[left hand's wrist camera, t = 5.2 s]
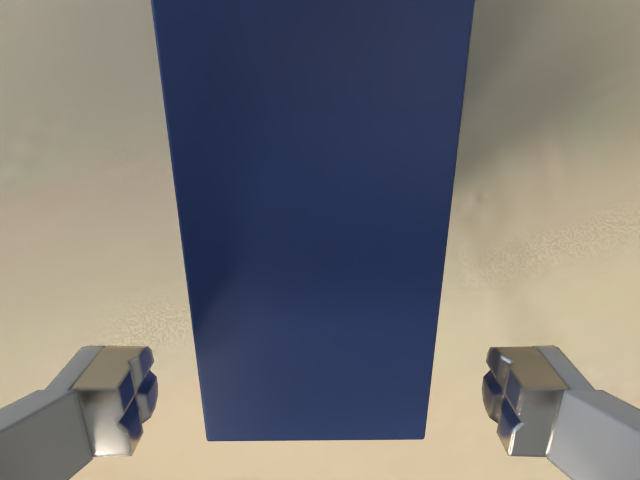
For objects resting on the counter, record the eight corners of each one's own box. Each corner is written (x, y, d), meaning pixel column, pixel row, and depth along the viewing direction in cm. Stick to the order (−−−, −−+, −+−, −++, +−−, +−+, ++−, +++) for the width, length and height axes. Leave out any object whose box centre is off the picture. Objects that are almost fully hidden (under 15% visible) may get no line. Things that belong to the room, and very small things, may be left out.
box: (371, 258, 24) (424, 440, 12) (259, 258, 24) (206, 442, 12) (396, -278, 16) (616, -1217, 4) (229, -279, 16) (-9, -1235, 4)
